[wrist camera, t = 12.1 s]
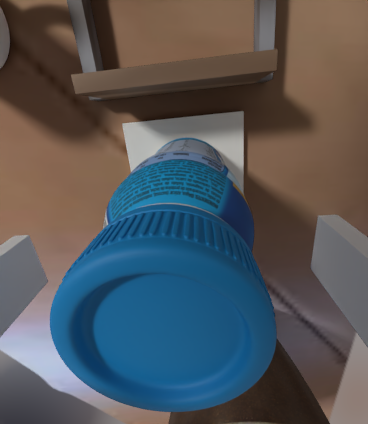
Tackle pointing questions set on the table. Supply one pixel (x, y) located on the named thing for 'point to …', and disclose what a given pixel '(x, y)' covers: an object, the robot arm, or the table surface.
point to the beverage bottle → (169, 289)
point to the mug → (4, 39)
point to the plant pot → (265, 400)
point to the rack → (172, 71)
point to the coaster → (190, 128)
